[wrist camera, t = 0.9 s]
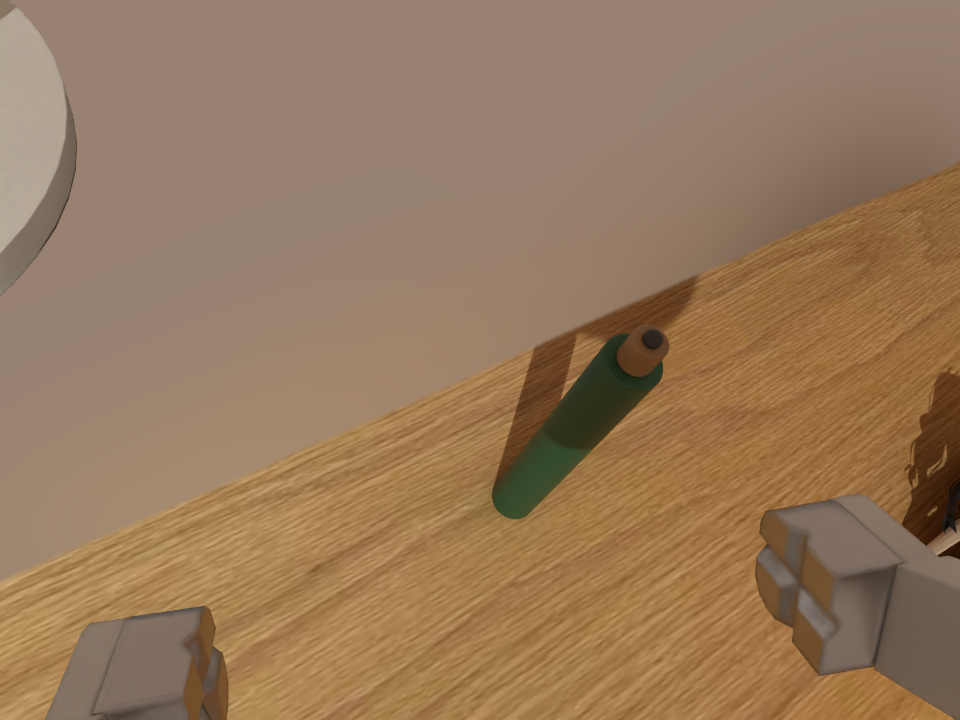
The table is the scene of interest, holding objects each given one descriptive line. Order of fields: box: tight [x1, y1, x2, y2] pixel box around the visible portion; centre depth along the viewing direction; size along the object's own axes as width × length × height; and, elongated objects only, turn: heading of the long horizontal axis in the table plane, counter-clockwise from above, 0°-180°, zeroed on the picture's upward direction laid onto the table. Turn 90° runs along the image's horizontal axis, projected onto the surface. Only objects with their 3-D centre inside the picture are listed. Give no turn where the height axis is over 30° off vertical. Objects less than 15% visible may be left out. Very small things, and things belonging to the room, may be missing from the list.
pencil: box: [492, 324, 669, 519], centre depth 27 cm, size 2×2×15 cm
